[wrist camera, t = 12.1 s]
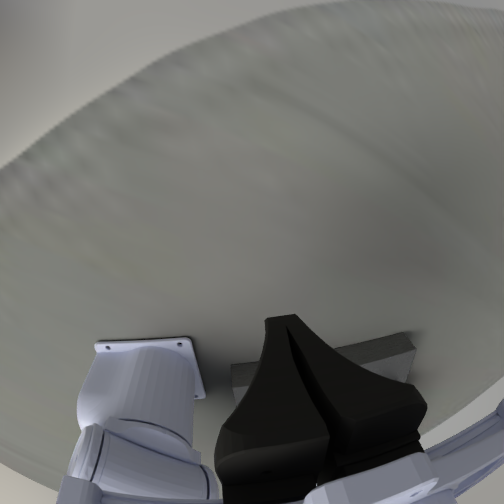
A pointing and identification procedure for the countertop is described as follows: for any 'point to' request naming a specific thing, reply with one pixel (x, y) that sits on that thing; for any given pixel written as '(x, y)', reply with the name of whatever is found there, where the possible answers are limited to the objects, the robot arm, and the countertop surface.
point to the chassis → (363, 354)
